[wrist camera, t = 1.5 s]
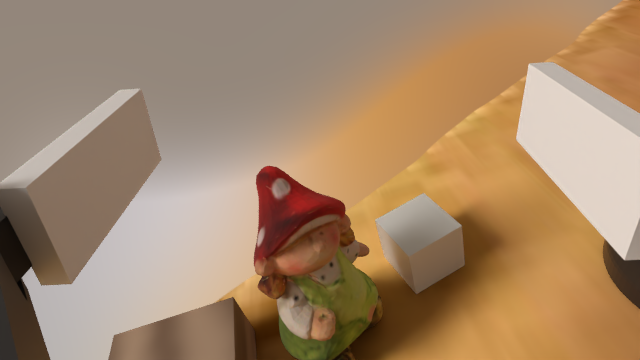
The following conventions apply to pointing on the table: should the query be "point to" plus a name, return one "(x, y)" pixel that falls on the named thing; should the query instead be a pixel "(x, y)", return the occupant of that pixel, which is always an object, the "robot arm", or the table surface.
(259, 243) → the figurine
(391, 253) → the grey cube
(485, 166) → the table surface
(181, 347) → the pedestal
